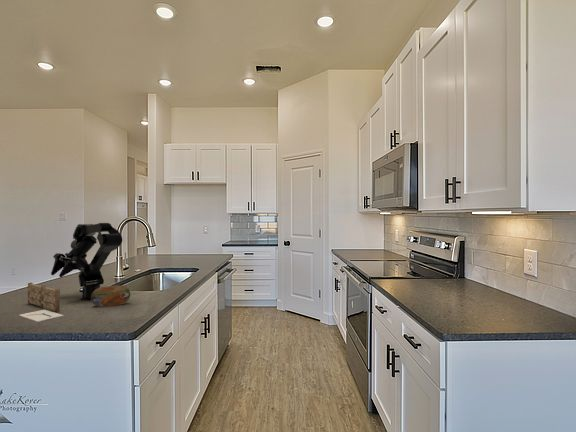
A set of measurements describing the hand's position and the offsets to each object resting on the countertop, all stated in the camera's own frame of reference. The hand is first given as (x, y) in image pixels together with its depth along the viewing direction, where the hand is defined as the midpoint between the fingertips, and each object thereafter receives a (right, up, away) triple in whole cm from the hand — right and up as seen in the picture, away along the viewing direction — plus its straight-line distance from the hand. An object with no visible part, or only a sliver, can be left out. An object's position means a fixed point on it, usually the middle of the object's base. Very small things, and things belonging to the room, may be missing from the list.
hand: (55, 275), depth 153 cm
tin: (+26, -12, -3) cm, 29 cm away
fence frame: (+6, -12, -12) cm, 18 cm away
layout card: (+8, -12, -21) cm, 25 cm away
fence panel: (-5, -11, -6) cm, 14 cm away
